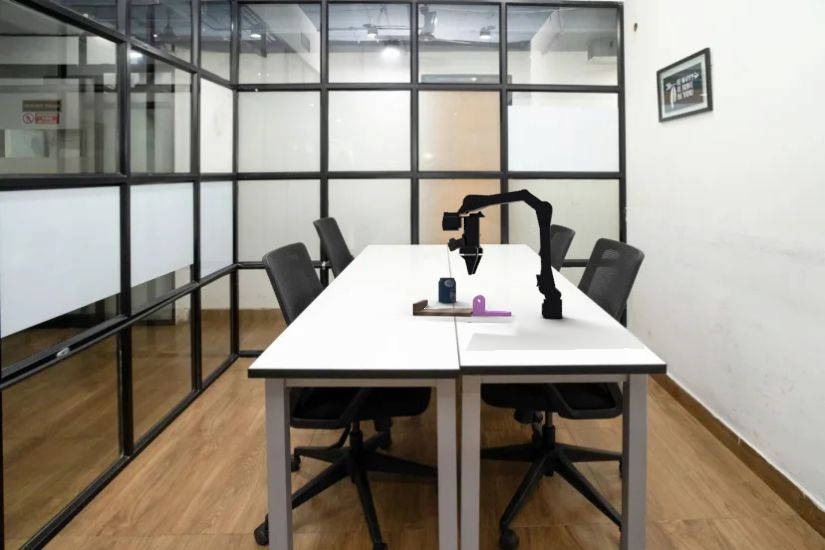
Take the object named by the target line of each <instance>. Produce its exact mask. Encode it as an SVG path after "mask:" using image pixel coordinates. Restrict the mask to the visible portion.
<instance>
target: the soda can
mask: <svg viewBox="0 0 825 550" xmlns="http://www.w3.org/2000/svg"><path fill="white" fill-rule="evenodd" d="M437 283H438V284H437V286H438V287H437V288H438V289H437V290H438V293H437V295H438V298H437V300H438V301H437V302H438V303H441V304H454V303H456V302H457V281H456V280H455V277H439V280H438V281H437Z"/></svg>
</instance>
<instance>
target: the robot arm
mask: <svg viewBox="0 0 825 550" xmlns="http://www.w3.org/2000/svg"><path fill="white" fill-rule="evenodd" d="M519 202H524V203H525V204H526V205H528V206H529V207H530V208H531V209H533V211H535V214H536V219H537V225H538V227H539V247H540V248H539V251H540V270H539V271H540V273H536V274H535V278H536V286H535V287H537V289H538V291H539V293H540V294H542V295H543V296H544V298H543V302H542V303H541V316H542V318H547V319H549V318H551V319H552V318H553V319H555V318H556V319H563V299H562V291H560V290H559V289H558V288H557V287H556V281H555V277H554V273H553V268H552V245H551V244H552V243H551V242H552V241H551V240H552V239H551V225H552V220H553V219H552V218H553V211H554V209H553V205H552V204H551V202H549V201H547V200H541V199H540V198H539V197H537V196H535V195H534V194H532V193H531V192H530V191H529V190H528V189H526V188H523V189H520V190H513V191H507V192H500V193H493V194H473V193H471V194H467V195H465V196H464V198H463V199H462V204H461V206H460V207H459V208H458V210H457V211H455V212H453V211H452V212H451V211H450V212H448V211H443V216H442V221H441V228H442V231H443V232H459V231H460V230H461V229H463V233H462V234H461V237H460V238H457V239H456V238H455V237H451V238H449V239H448V242H447V247H448V249H449V252H455V251H456V250H458V254H459V256H460V257H461V258H462V259H463V260H464V263H465V268H466V271H467V275H468V276H472V275H476V273H477V270H478V267H479V265H480V263H481V260H482V259H483V254H484V248H483V247H482V246H481V243H480V240H481V236H482V235H481V231H480V229H481V226H480V225H481V223H480V222H481V220H480V219H484V218H486V215H484V213H483V212H482V210H483V209H486V208H488V207H493V206H498V205H505V204H506V205H507V204H512V203H519ZM477 211H478V212H477Z"/></svg>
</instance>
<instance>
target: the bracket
mask: <svg viewBox="0 0 825 550" xmlns="http://www.w3.org/2000/svg"><path fill="white" fill-rule="evenodd" d="M472 308H473V314H472V316H474V317H475V316H478V317H479V316H481V317H512V311H510V310H509V311H508V310H486V298H485V296H484V295H482V294H478V295H476V296H474V298H473V299H472Z"/></svg>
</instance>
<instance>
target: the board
mask: <svg viewBox="0 0 825 550" xmlns="http://www.w3.org/2000/svg"><path fill="white" fill-rule="evenodd" d="M427 305H428V306H429V300H428V299H422V300H421V299H420V300H419V301H417V302H414V303H412V316H431V317H432V316H435V317H438V316H439V317H440V316H441V317H471V316H473V307H462V308H461V307H446V308H445V307H443V308H442V307H441V308H440V307H437V308H438V309H424V308H425V307H426V306H427ZM428 306H427V307H428ZM427 307H426V308H427Z"/></svg>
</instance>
